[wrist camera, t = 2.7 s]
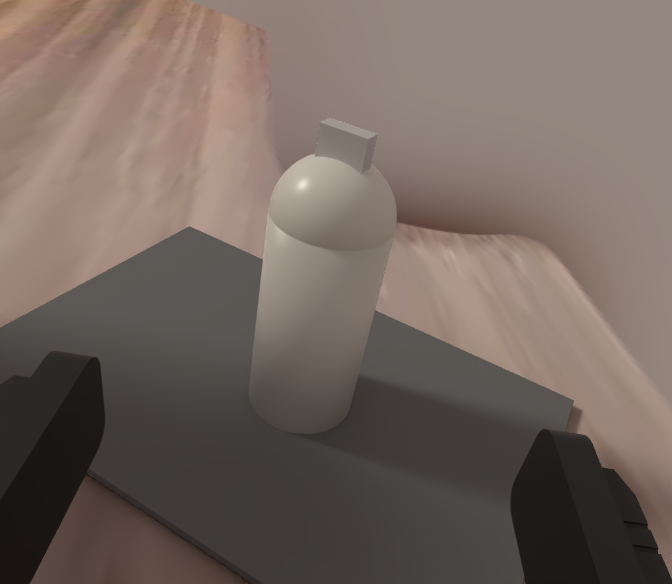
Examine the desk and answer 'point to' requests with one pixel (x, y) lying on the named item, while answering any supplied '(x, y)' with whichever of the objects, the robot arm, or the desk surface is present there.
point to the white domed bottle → (320, 281)
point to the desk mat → (289, 448)
